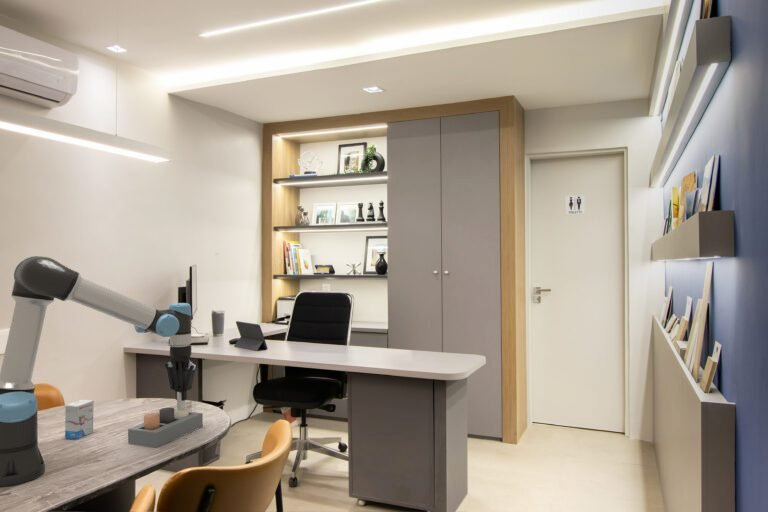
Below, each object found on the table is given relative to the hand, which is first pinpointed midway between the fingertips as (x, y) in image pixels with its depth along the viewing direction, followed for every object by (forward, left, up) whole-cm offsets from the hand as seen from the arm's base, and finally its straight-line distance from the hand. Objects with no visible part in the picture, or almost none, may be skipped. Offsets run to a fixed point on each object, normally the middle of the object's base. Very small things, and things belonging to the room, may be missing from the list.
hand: (181, 408), depth 209 cm
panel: (-8, 0, -7) cm, 10 cm away
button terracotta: (-15, 0, -4) cm, 16 cm away
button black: (-7, 0, -4) cm, 9 cm away
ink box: (-18, +29, -8) cm, 35 cm away
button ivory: (0, 0, -6) cm, 6 cm away
